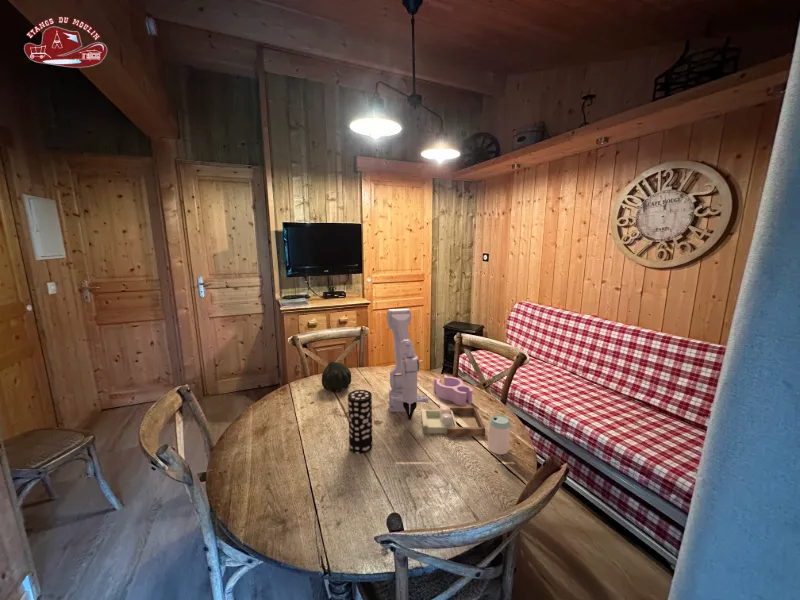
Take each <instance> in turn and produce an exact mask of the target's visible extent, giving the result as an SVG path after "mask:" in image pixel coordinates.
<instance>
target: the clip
mask: <svg viewBox="0 0 800 600" xmlns="http://www.w3.org/2000/svg"><path fill="white" fill-rule="evenodd" d="M441 380H442V379H440V378H436V377H434V378H433V393H436V394H435V395H436V398H439V399H441V400H445V401H451V402H453V403H454V404H455V405H457V406H458V407H467V401H468V404H470V405H473V404H472V403H473V387H471V386H469V385H466V384H464V382H463V380H461V378H458V377H455V376H448V375H447V374H444V375H443V384H442V382H441Z"/></svg>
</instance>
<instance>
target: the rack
mask: <svg viewBox="0 0 800 600" xmlns="http://www.w3.org/2000/svg"><path fill="white" fill-rule="evenodd" d="M448 407H449V408H450V410H452V412H453V415H473V417H474V420H475V421H476V424H477V426H478V427H477V426H473V427H471V426H470V427H469V426H466V427H465V426H459V427H458V426H457V427H447V433H446V435H447V437H486V426H485V425H484V423H483V420H482V418H481V417H480V414H479V412H478V409H477V407H476V406H448Z"/></svg>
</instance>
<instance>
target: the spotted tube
mask: <svg viewBox="0 0 800 600" xmlns="http://www.w3.org/2000/svg"><path fill="white" fill-rule="evenodd" d="M372 398H373V394H372V392H371V391H369V390H366V389H357V390H353V391H351V392H349V393H348V394H347V409H348V414H347V416H348V445H349V450H350V451H351V453H354V454H357V455H362V454H367V453H368V452H371V450H372V449H373V399H372Z"/></svg>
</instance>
